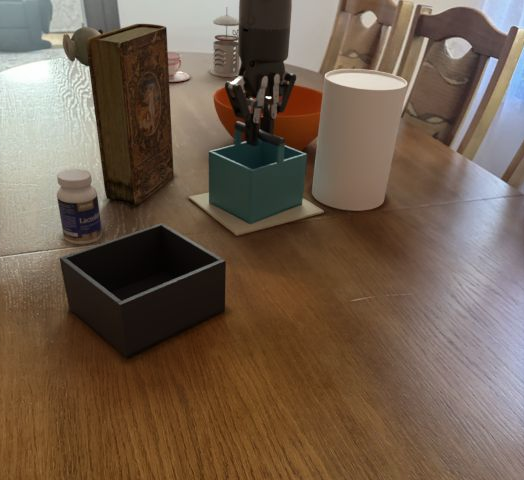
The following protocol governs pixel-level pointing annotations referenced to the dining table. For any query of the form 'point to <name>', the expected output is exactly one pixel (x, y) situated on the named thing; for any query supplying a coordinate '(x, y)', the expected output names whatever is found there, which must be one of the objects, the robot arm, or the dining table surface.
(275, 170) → the teal bin
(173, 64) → the teacup
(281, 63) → the robot arm
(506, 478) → the dining table surface
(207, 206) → the cream mat
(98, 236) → the pill bottle
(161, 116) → the book
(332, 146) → the canister
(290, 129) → the bowl
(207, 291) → the charcoal bin
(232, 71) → the french press
